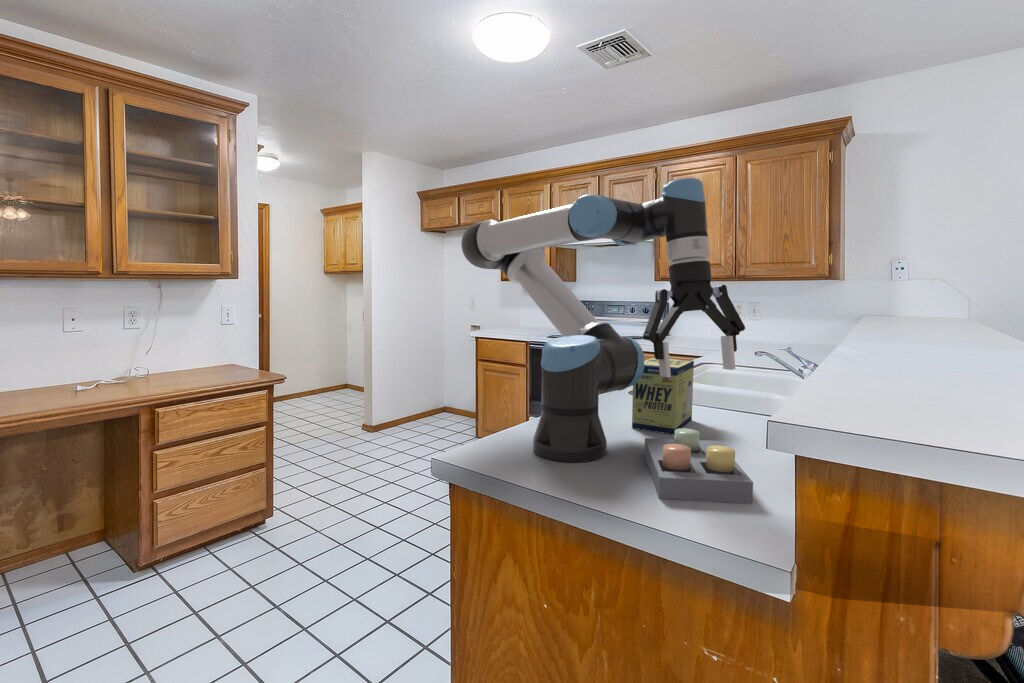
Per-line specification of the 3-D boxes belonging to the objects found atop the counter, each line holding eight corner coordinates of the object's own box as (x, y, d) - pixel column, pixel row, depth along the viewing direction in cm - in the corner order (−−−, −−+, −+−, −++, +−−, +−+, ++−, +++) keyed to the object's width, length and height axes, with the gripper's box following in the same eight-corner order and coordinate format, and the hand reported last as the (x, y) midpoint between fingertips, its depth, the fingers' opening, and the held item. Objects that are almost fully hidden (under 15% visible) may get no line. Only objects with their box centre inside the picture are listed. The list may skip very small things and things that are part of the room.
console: (659, 498, 79) (659, 477, 79) (644, 455, 100) (644, 438, 99) (752, 503, 77) (753, 482, 77) (717, 458, 98) (718, 440, 97)
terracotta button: (664, 469, 82) (665, 451, 82) (661, 460, 86) (661, 443, 86) (692, 470, 81) (693, 452, 81) (687, 461, 85) (688, 444, 85)
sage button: (676, 450, 91) (676, 434, 91) (672, 443, 95) (672, 427, 95) (701, 451, 90) (701, 435, 90) (696, 444, 95) (696, 428, 94)
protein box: (631, 428, 119) (632, 364, 117) (652, 414, 132) (653, 356, 130) (675, 435, 113) (677, 368, 111) (692, 420, 126) (694, 359, 124)
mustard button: (709, 471, 81) (710, 453, 80) (703, 461, 85) (703, 444, 85) (737, 472, 80) (738, 454, 80) (730, 463, 84) (731, 446, 84)
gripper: (637, 263, 89) (646, 381, 89) (759, 255, 94) (768, 367, 94) (619, 269, 96) (629, 378, 96) (734, 261, 101) (742, 365, 101)
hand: (697, 373), depth 95 cm, fingers open, 13 cm apart
